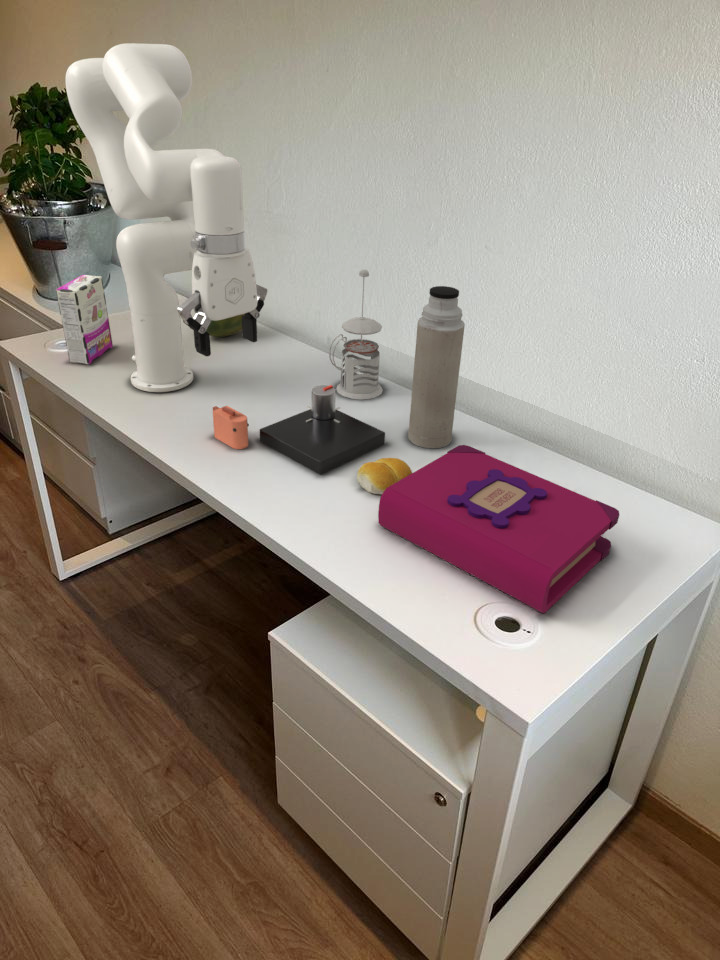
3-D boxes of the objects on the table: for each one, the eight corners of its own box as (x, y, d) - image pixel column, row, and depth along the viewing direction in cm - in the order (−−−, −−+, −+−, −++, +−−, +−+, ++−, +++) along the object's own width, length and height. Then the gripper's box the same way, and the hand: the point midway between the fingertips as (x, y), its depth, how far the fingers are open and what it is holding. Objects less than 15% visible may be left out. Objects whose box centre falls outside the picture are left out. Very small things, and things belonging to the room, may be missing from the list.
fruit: (257, 330, 182) (256, 290, 177) (235, 347, 171) (233, 305, 166) (215, 323, 185) (212, 284, 179) (190, 340, 174) (186, 298, 169)
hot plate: (256, 439, 134) (256, 426, 132) (323, 412, 144) (324, 400, 143) (320, 475, 124) (320, 461, 123) (387, 443, 135) (388, 430, 133)
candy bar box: (93, 344, 169) (82, 273, 161) (113, 347, 169) (103, 275, 160) (67, 363, 160) (54, 288, 151) (88, 365, 159) (76, 290, 151)
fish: (208, 434, 135) (206, 404, 132) (223, 428, 137) (221, 398, 134) (237, 451, 130) (235, 420, 127) (252, 445, 132) (251, 414, 129)
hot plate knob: (323, 422, 135) (323, 395, 132) (306, 414, 138) (306, 388, 135) (339, 414, 138) (340, 388, 135) (323, 407, 140) (323, 381, 138)
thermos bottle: (417, 424, 141) (430, 279, 127) (456, 434, 139) (474, 286, 124) (401, 442, 135) (413, 291, 121) (442, 452, 132) (459, 299, 118)
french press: (391, 395, 152) (399, 274, 139) (340, 404, 148) (343, 280, 135) (369, 377, 160) (375, 260, 147) (320, 385, 155) (321, 265, 142)
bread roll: (421, 486, 122) (423, 465, 120) (376, 501, 118) (377, 480, 116) (392, 464, 128) (394, 444, 126) (348, 477, 124) (349, 457, 122)
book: (539, 619, 95) (550, 573, 91) (376, 530, 111) (379, 487, 107) (612, 550, 109) (624, 507, 105) (458, 479, 124) (463, 439, 121)
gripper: (188, 256, 108) (198, 366, 116) (278, 239, 119) (281, 340, 127) (159, 246, 112) (170, 353, 121) (248, 230, 123) (253, 329, 132)
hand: (227, 346), depth 124 cm, fingers open, 9 cm apart
